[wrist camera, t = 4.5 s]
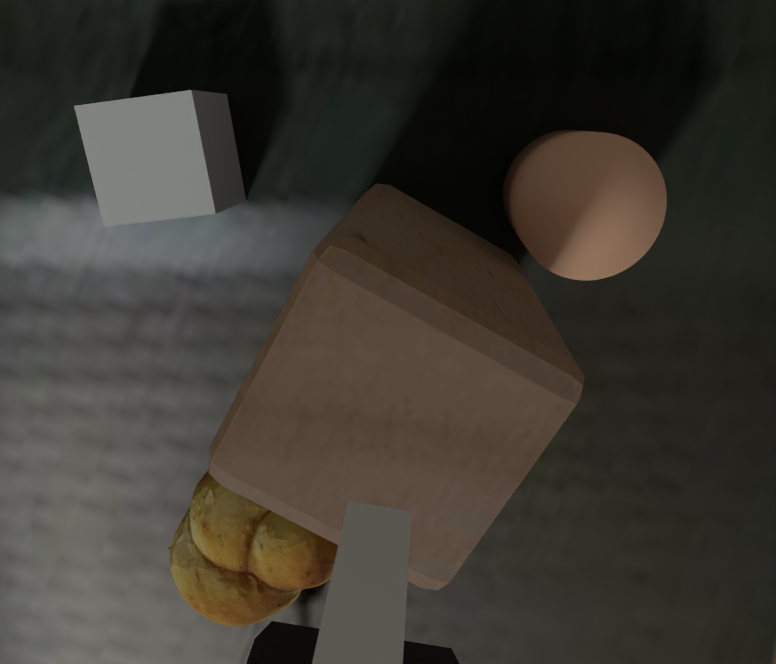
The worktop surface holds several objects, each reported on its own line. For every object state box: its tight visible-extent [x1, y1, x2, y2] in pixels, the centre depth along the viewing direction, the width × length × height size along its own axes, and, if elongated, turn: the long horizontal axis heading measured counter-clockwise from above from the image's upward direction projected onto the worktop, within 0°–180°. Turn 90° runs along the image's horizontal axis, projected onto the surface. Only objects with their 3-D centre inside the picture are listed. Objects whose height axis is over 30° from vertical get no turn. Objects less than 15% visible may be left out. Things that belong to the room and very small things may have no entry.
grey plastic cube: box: [74, 90, 246, 227], centre depth 37 cm, size 6×6×6 cm
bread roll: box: [168, 471, 338, 626], centre depth 43 cm, size 13×10×8 cm
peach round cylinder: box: [503, 130, 667, 280], centre depth 35 cm, size 7×7×7 cm
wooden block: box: [209, 183, 585, 590], centre depth 32 cm, size 10×10×20 cm
